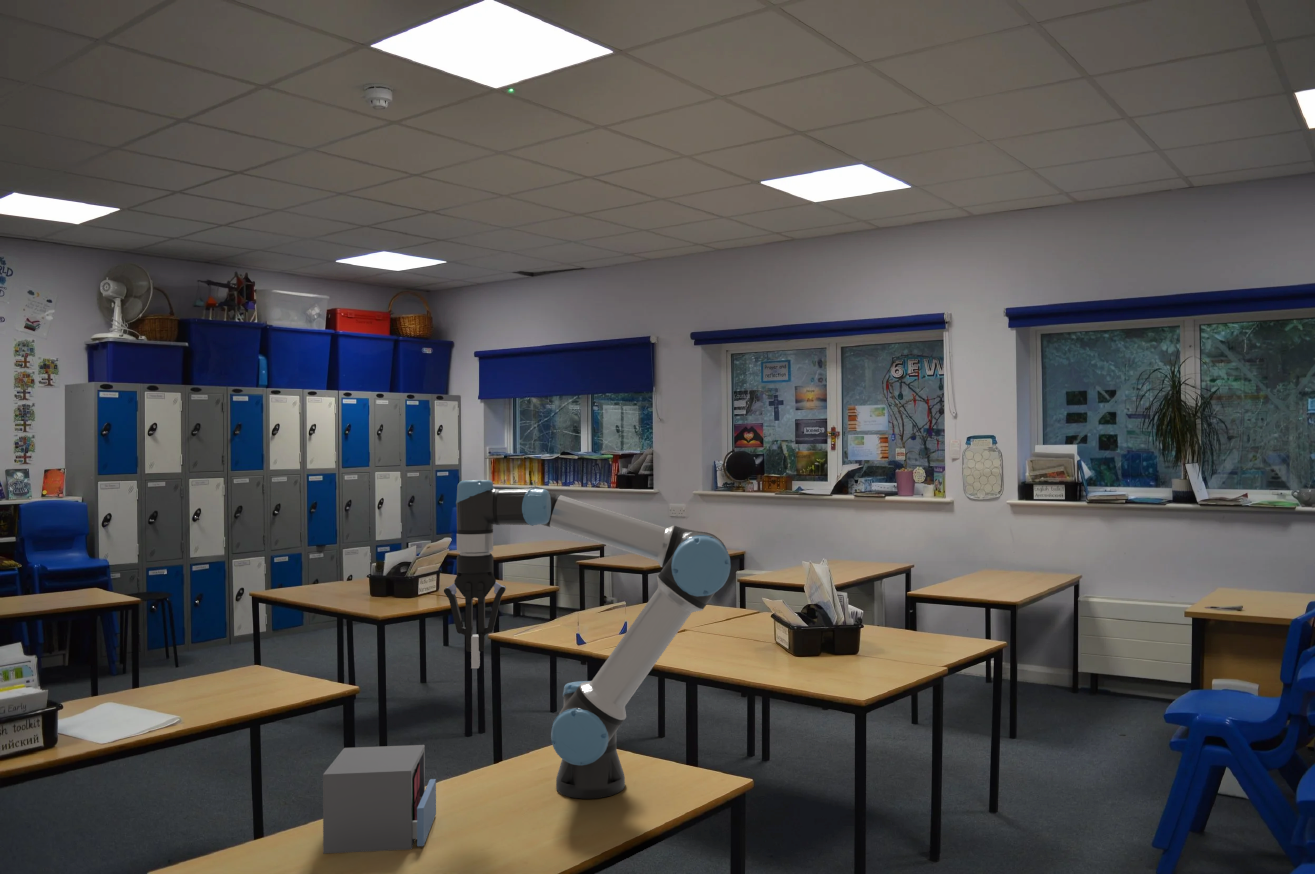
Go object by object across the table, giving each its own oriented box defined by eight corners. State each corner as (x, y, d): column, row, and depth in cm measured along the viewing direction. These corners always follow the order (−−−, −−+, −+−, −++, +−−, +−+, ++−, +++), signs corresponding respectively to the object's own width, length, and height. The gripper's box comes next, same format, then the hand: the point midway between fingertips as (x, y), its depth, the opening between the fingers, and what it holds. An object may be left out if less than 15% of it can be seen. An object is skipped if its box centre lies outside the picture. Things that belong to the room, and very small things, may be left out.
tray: (436, 813, 188) (435, 778, 189) (423, 845, 173) (423, 807, 173) (354, 817, 187) (354, 782, 187) (334, 850, 171) (334, 811, 171)
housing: (424, 816, 188) (424, 744, 189) (411, 849, 172) (411, 770, 173) (344, 820, 187) (344, 747, 187) (323, 853, 171) (323, 774, 171)
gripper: (507, 551, 198) (508, 662, 197) (445, 552, 197) (446, 663, 196) (505, 554, 190) (506, 669, 190) (441, 555, 189) (441, 671, 189)
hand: (475, 666), depth 193 cm, fingers closed
